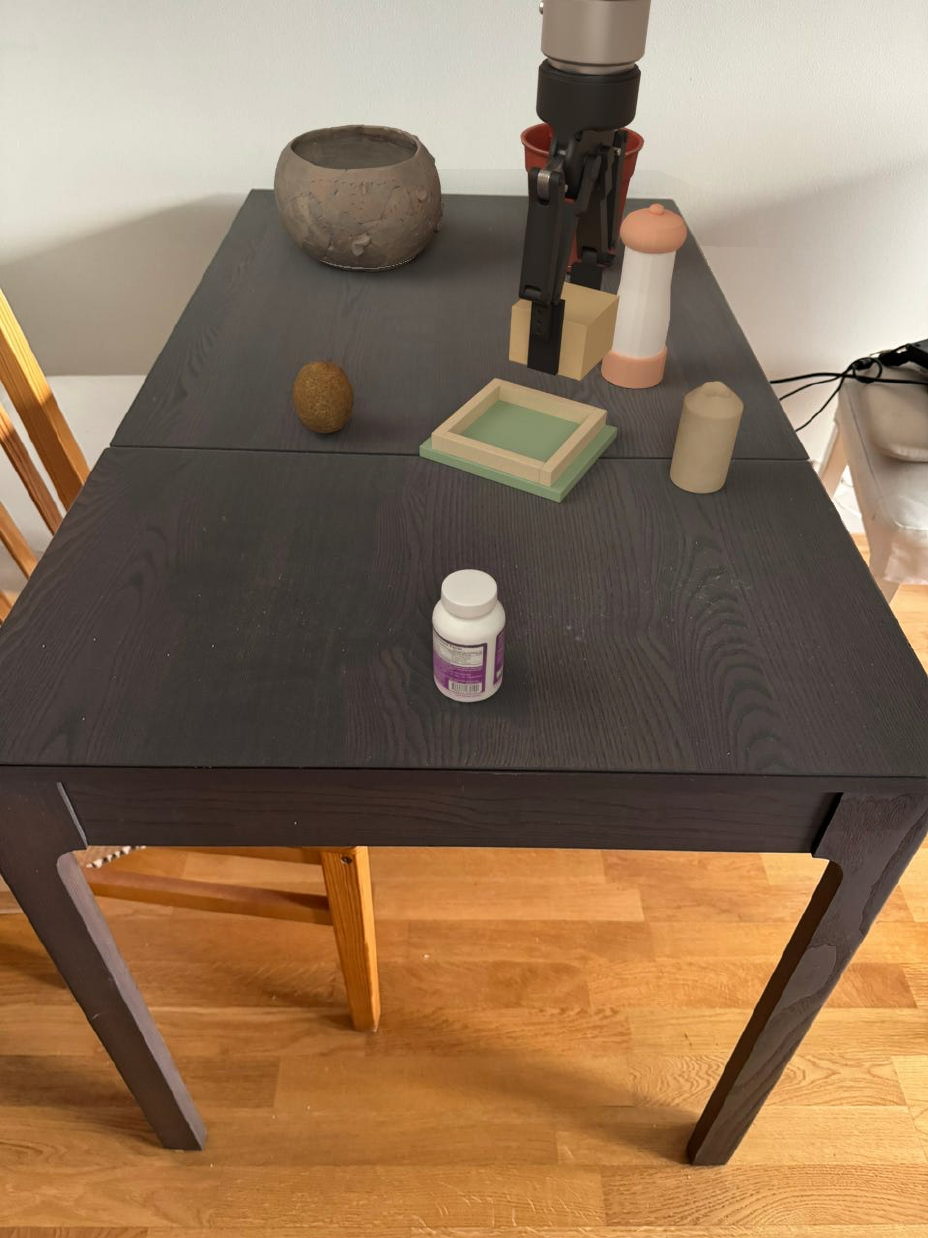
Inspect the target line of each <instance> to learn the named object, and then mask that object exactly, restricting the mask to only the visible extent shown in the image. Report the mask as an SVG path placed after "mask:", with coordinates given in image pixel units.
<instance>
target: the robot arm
mask: <svg viewBox="0 0 928 1238" xmlns="http://www.w3.org/2000/svg"><path fill="white" fill-rule="evenodd" d="M651 4H652V0H541V1H540V3H539V5H538V12H539V13H540V15H541V16H542V20H541V36H540V37H541V38H540V52H541V53H542V54H543V55H544V57H546V58H545V59H543V60H542V62H541V63H540V64H539V66H538V69H537V70H538V72H537V86H536V87H537V88H536V102H535V112H536V116H537V117H538V119H540V121H542V123H547V124H548V125H549V126H550V127H551V128H552V130H553V136H552V141H551V145H550V149H549V153H548V159H547V164H546V166H545V167H544V168H539V167H534V166H533V167H532V168H531V169H530V172H529V176H528V175H527V187H528V186H529V200H528V207H527V216H526V225H525V234H524V241H523V242H524V243H523V251H522V259H521V267H520V268H521V269H520V277H519V278H520V279H519V286H518V298H519V300H521V299H524V300H528V301H532V305H531V318H530V332H529V346H528V360H527V365H526V368H527V369H529V370H530V369H531V370H533V371H537V372H541V373H545V374H547V375H551V376H556V375H558V374H557V373H558V370H559V360H560V350H561V340H562V329H563V320H564V311H565V301H566V300H564V299H561V294H562V289H563V285H564V282H566V276H567V273H566V272H567V268H568V263H569V259H570V254H571V250H572V246H573V241H574V237H575V233H576V246H577V258H578V259H581V260H582V262H577V261H575V262H573V263H572V264H571V273H569V274H570V275H569V283H571V284H575V285H579V286H583V287H587V288H590V289H594V290H598V291H602V281H603V272H604V268H602V267H601V264H602V265H606V266H607V267H609V268H610V267H611V268H612V267H613V266H614V264H615V261H616V258H617V254H610V253H608V250H614V248H615V247H616V248H617V245H618V239H617V231H618V220H619V209H620V198H621V186H622V175H623V164H624V157H625V152H626V147H627V142H628V139H629V132H628V130H624V129H621V128H623V127H625V128H627V126H629V125H630V124H632V123H633V122H634V120H635V118H636V115H637V107H638V99H639V92H640V84H641V76H642V71H641V69H640V68H639V65H638V64H637V63H636V62H639V61H640V60H641V59H642V58H643V57H644V56H645V54H646V46H647V37H648V30H649V29H648V27H649V21H650V13H651V6H652V5H651ZM565 198H567V199H571V200H574V203H571V202H566V201H565ZM607 231H608V232H607Z"/></svg>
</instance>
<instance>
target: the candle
mask: <svg viewBox="0 0 928 1238" xmlns="http://www.w3.org/2000/svg"><path fill="white" fill-rule="evenodd" d="M743 412H744V403H743V401H742V399H741V398H740V397H739V396H738V395H737V394H736V393H735V392H734V391H733V390H732V389H731V388H730V387H729V386H727V385H726V384H724V383H723V382H722V381H708V382H704V383H703V384H701V385H700V386H698V387H696V388H694V389H693V390H690V391H689V392H688V393H687V394H686V395H685V396H684V399H683V403H682V408H681V413H680V418H679V423H678V428H677V433H676V439H675V443H674V448H673V454H672V459H671V464H670V470H669V478H670V480H671V482H672V483H673V484H674V485H675V486H677V487H678V488H679V489H682V490H683V491H687V492H689V493H695V494H709V493H715V492H717V491H719V490H720V489H721V488H723V486H724V485H725V482H726V479H727V476H728V471H729V467H730V463H731V460H732V456H733V452H734V448H735V443H736V439H737V435H738V431H739V428H740V423H741V419H742V415H743Z"/></svg>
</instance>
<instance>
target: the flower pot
mask: <svg viewBox="0 0 928 1238" xmlns="http://www.w3.org/2000/svg"><path fill="white" fill-rule="evenodd" d="M621 129H624V130H628V132H629V139H628V142H627V147H626V152H625V157H624V164H623V175H622V186H621V198H620V209H619V220H618V231H617V240H618V238H619V235H620V228H621V225H622V222H623V221H622V220H623V216H624V212H625V211H624V210H625V207H626V203H627V202H626V201H627V198H628V192H629V187H630V182H631V178H633V176H634V174H635V170H636V166H637V160H638V157H639V152H640V151H641V150H642V149H643V147H644V144H645V139H644V137H643V136H642V135H641V134H639V133H638V132H636V131H635V130H632V129H630V128H628V127H623V128H621ZM552 136H553V130H552V128H551V127H550V126H549V125H548V124H547V123H545V122H541V123H538V124H535V125H531V126H529V127H527V128H526V129H524V130H523V131H522V132H521V133H520V137H519V139H520V141H521V144H522V145H523V149H524V168H525V171H526V173H527V177H528V176H529V172H530V169H531V168H532V167H533V166H534V167H539V168H544V167H545V166H546V164H547V159H548V153H549V149H550V145H551V141H552ZM527 196H528V197H527V198H528V199H527V200H528V201H529V186H528V185H527ZM565 201H566V202H571V203H574V200H571V199H567V198H565ZM607 232H608V231H607ZM616 248H617V246H616V247H615V248H614V250H608V253H610V254H614V253H616V250H617V249H616ZM614 255H615V254H614ZM575 261H577V262H582V260H581V259H578V258H577V246H576V233H575V237H574V241H573V246H572V250H571V254H570V259H569V263H568V266H571V264H572V263H573V262H575ZM601 267H602V268H603V269H605V268H606V267H608V266H606V265H602V264H601ZM567 273H568V274H571V267H568V268H567V272H566V274H567Z"/></svg>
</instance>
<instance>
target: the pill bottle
mask: <svg viewBox="0 0 928 1238" xmlns="http://www.w3.org/2000/svg"><path fill="white" fill-rule="evenodd" d="M440 591H441V593H440V599H439V600H438V601H437V602H436V604H435V606H434V608H433V611H432V618H431V623H432V660H433V661H432V663H433V664H432V665H433V679H434V683H435V685H436V687H437V689H438V690H439V691H440V693H442V695H444V697H447V698H449V699H451V700H453V701H455V702H461V703H473V702H475V703H476V702H480V701H484V700H486V699H488V698H490V697H491V696H493V695H494V694H495V693H496V692H497V691H498V690H499V688H500V687H501V685H502V682H503V676H504V675H503V674H504V659H505V639H506V621H507V620H506V613H505V609H504V607H503V605H502V603H501V601H500V600H498V584H497V582H496V581H495V579H494V578H493V577H492V576H491V575H490V574H489V573H487V572H484V571H482V570H478V569H472V568H471V569H467V568H466V569H460V570H457V571H454V572H452V573H450V574H448V575H447V576H446V577H445V578H444V579H443V580H442V583H441V589H440Z"/></svg>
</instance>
